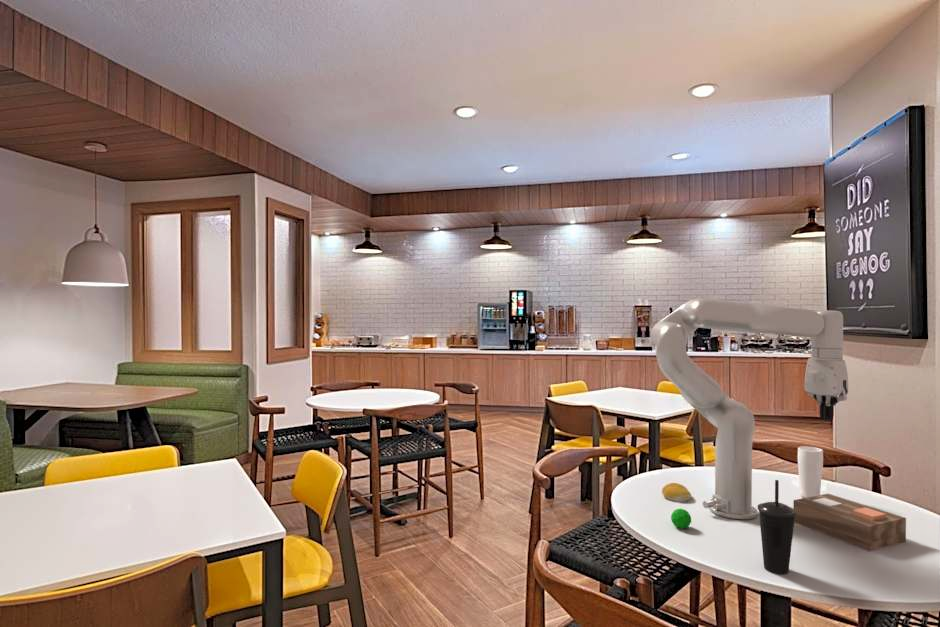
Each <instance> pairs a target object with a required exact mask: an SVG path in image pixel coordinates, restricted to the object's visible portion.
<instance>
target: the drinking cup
mask: <svg viewBox="0 0 940 627" xmlns="http://www.w3.org/2000/svg"><path fill="white" fill-rule="evenodd" d="M779 488H780V486H779V480H778V479H775V480H774V501H766V502H762V503H759V504H758V505H757V511H758V515H759V523H760V524H759V526H760V537H761V548H762V549H761V550H762V561H763V568H764V569H765V571H767V572H769V573H772V574H776V575H787V574H788V573H789V570H790V560H791V552H792V545H793V534H794V527H795V522H794V519H795V515H796V510H795V509H793V507H791V506H789V505H787V504H785V503H782V502H779Z"/></svg>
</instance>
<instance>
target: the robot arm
mask: <svg viewBox="0 0 940 627" xmlns="http://www.w3.org/2000/svg"><path fill="white" fill-rule="evenodd" d="M698 328H699V329H700V328H701V329H708V330H709V329H710V330H718V331H727V332H728V331H730V332H739V333H750V334H773V335H774V334H775V335H783V336H793V337H800V338H801V337H803V338H811V344H810V345H811V346H810V347H811V348H808V350H807V351H808V354H809V355H810V357H808V359H807V362H806V367H805V375H804V391H805V392H806V393H807V396H809V397H811V398H813V399H814V400H815V401H816V403H817V405H818V406H819V420H823V421H832V420H833V419H834V415H835V414H834V410H835V409H834V407H835V406H836V405H837V403H839V402H846V401H847V400H848V397H847V395H848V394H849V376H848V375H849V373H848V367H847V364H846V360H845V359H844V315H843V313H842V312H841V311H839V310H825V309H824V310H813V309H806V308H805V309H804V308H794V307H785V306H777V305H776V306H774V305H767V304H762V303H761V304H760V303H756V302H755V303H752V302H745V301H744V302H742V301H733V300H725V299H724V300H723V299H713V298H692V299H689V300H688V301H686V302H685V303H683V304H682V305H680V306H679V307H678V308H677V309H674V311H672V312H671V313H670V314H668V315H667V316H665V317H664V318H662V319H661V320H660V321H658V322H656V324H655V325H653V326H652V327H651V330H650V336H649V337H650V341H651V343H652V344H653V345H654V347H656V349H655V350H656V351H655V355H656V361H657V365H658V367H659V369H660V371H661V372H662V374H663V375H664V376H665V377H666V378H667V379H668V380H669V381H670V382H671V383H672V384H673V385H674V386H675V387H676V388H677V389H678V390H679V392H680V393H679V394H680V395H681V397H682V398H683V400H684V401H686V402H687V404H689V405H690V406H691V407H692V408H693V409H694V410H695V411H697V412H698V413H699V414H700V415H701V416H702V417H703V418H705V419H706V420H707V422H709V423H710V424H711V425H713V426H714V427H715V428H717V433H716V438H715V448H714V465H715V466H714V470H715V473H714V476H715V477H714V478H715V480H714V484H715V485H714V494H712V498H711V499H710V500H704V501H703V502H702V507H703V508H704V509H709V510H710V512H711V513H713V514H716V515H718V516H719V517H724V518H728V519H734V520H753V519H754V518H756V517H758V515H759V510H758V508H757V507H754V506H752V500H753V498H752V497H753V496H752V495H753V493H752V492H753V490H752V489H753V488H752V487H753V485H752V484H753V482H752V481H753V456H752V455H753V440H754V434H755V428H756V427H755V426H756V425H755V424H756V421H755V417H754V414H753V412H752V411H751V409H750V408H748V406H746V405H745V404H743V403H742V402H740V401H737V400H734V399H732V397H730V396H728V395H727V394H726V393H725V392H724V391H723V390H722V387H721V386H720V384H719V383H718V381H717V380H715V379H714V378H712V377H711V376H710V375H709V374H707V373H706V372H705V371H704V370H703V369H702V368H701V367H700V366H699V365H697V364H696V362H694V361H693V360H692V359H691V358H690V356H689V355H688V352H687V345H688V336H690V335H691V334H692V333H693V332H695V331H696V330H698Z"/></svg>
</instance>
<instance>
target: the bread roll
mask: <svg viewBox="0 0 940 627" xmlns="http://www.w3.org/2000/svg"><path fill="white" fill-rule="evenodd" d="M661 493H662V495H663V498H664V499H665V498H667V499H666V500H668V499H671V500H675V501H674V502H676V501H684V502H687V500H688V501H690V500H691V498H692V494H691V492H690V491H689V489H688V488H686V486H684V485H683V484H680V483H677V482H671V483H667V484H666V485H664V486H663V487H662V490H661ZM671 500H670V501H671Z"/></svg>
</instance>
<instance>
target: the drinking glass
mask: <svg viewBox="0 0 940 627" xmlns="http://www.w3.org/2000/svg"><path fill="white" fill-rule="evenodd" d="M797 468H798V480H799V483H798V484H799V496H801V497H802V498H807V497H813V496H818V495H821V489H822V488H821V487H822V478H823V477H822V476H823V470H824V450H823V449H822V448H819V447H815V446H806V445H805V446H803V445H801V446H798V447H797Z"/></svg>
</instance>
